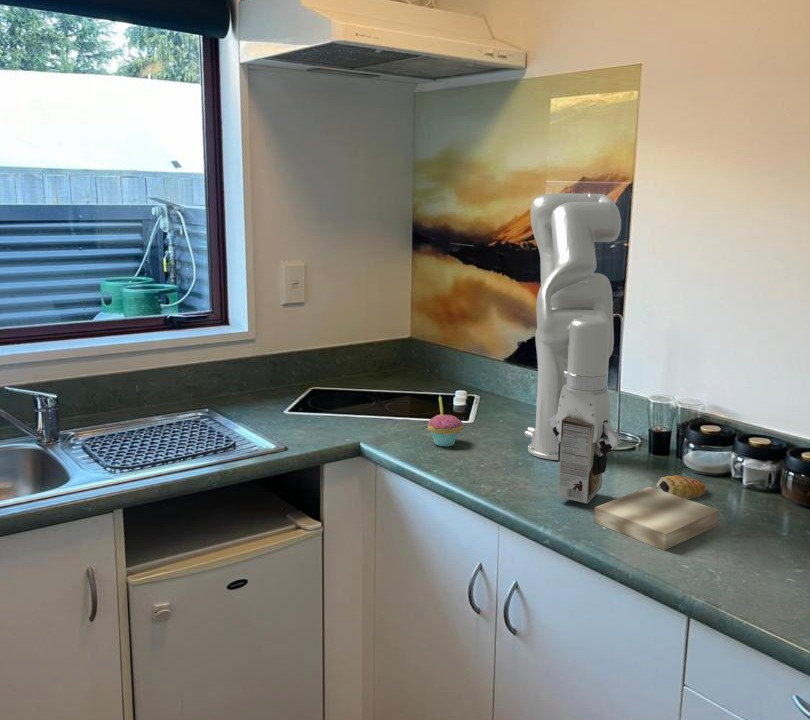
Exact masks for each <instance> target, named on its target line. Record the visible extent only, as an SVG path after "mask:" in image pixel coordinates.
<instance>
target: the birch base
mask: <svg viewBox="0 0 810 720" xmlns="http://www.w3.org/2000/svg"><path fill="white" fill-rule="evenodd" d="M720 511H721V510H720V509H718V508H714V507H711V506H709V505H704V504H702V503H699V502H696V501H693V500H690V499H686V498H682V497H679V496H676V495H673V494H670V493H667V492H664V491H661V490H658V489H657V488H655V487H651V486H646V487H644V488H643V489H639V490H637V491H635V492H631V493H630V494H626V495H623V496H621V497H618V498H616V499H613V500H610V501H607V502H605V503H602V504H599V505H597V506H594V516H593V523H594V522H595V524H597V525H600V526H602V527H604V528H608V529H610V530H613V532H617V533H620V534H622V535H624V536H627V537H630V538H632V539H635V540H637V541H640V542H642V543H645V544H647V545H651V546H653V547H655V548H657V549H659V550H662V551H666V550H669V549H670V548H673V547H675V546H677V545H679V544H682V543H683V542H686V541H688V540H690V539H692V538H695V537H696V536H699V535H701V534H703V533H705V532H707V531H709V530H711V529H714V528H716V527H718V526H719V520H720Z"/></svg>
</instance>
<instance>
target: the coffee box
mask: <svg viewBox="0 0 810 720" xmlns="http://www.w3.org/2000/svg"><path fill="white" fill-rule="evenodd" d="M593 427H594V425H592V424H588V423H585V422H583V421H581V420H578V419H575V418H571V417H567V416H566V417H565V418H564V419H563V420H562V429H561V448H560V462H559V466H558V467H559V468H558V469H559V471H558V488H557V497H558V498H561V499H566V500H571V501H575V502H579V503H583V504H588V503H589V502H590V501H592V499H593V498H594V497H595V496H596V495H597V493H599V491H600V490H601V489H602V487H603V473H601V474H598V475H594V474H593V460H594V455H597V454H596V452H595V449H594V448H595V443H594V444H593V442H592V440H593ZM599 444H600V442H599ZM600 446H601V444H600ZM601 448H602V446H601Z"/></svg>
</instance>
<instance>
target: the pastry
mask: <svg viewBox="0 0 810 720" xmlns="http://www.w3.org/2000/svg"><path fill="white" fill-rule="evenodd" d="M656 489H658V490H661V491H664V492H667V493H670V494H673V495H676V496H679V497H682V498H685V499H688V500H690V499H695V498H699V497H702V496H703V495H705V494H706V485H704V483H703V482H702V481H700V480H698V479H695V478H693V479H692V478H690V477H688V476H681V475H679V474H678V475H676V474H675V475H674V474H673V475H666V476H661V477H660V479H659V480H658V482H657V483H656Z"/></svg>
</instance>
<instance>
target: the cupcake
mask: <svg viewBox="0 0 810 720" xmlns="http://www.w3.org/2000/svg"><path fill="white" fill-rule="evenodd" d="M438 395H439V397H438V403H439V411H440V414H437V415H434V416H433V417H431V418H430V419H429V420H428V421H427V430H428V431H429V432H430V434H431V436H432V439H433V442H434V444H435V445H436V446H439V447H451V446H454V445H455V442H456V439H457V436H458V434H459V433H460V432H461V431H463V429H464V423H463V421H462V420H460V419H459V417H456V416H455V415H452V414H444V406H443V398H442V397H441V394H440V393H439V394H438Z"/></svg>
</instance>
